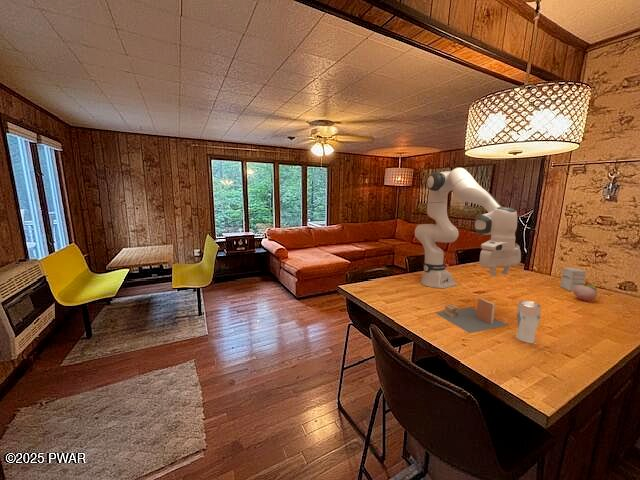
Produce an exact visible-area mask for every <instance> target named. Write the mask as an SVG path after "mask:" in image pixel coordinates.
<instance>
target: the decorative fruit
mask: <svg viewBox="0 0 640 480" xmlns="http://www.w3.org/2000/svg"><path fill="white" fill-rule="evenodd" d="M575 285H576V286H575V287H574V289H573V291H572V292H573V294H574V295H575V296H576V297H577V298H578V299H579V300H581V301H583V302H586V301H587V302H588V301H592V300H594V299H596V297H597V296H598V288H597V287H596V286H594V285H591V284H588V283H587V282H586V283H584V284H575Z"/></svg>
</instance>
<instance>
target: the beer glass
mask: <svg viewBox="0 0 640 480" xmlns="http://www.w3.org/2000/svg"><path fill="white" fill-rule="evenodd" d="M517 305H518V306H517V310H516V322H517V330H516V331H517V332H516V334H515V338H516V339H517V340H518V341H521V342H523V343H527V344H530V345H534V344H536V337H535V335H536V331H537V328H538V326H539V324H540V319H541V310H542V307H541V305H540V304H539V303H537V302H534V301H528V300H519V301H518V304H517Z"/></svg>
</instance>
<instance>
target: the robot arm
mask: <svg viewBox="0 0 640 480" xmlns="http://www.w3.org/2000/svg"><path fill="white" fill-rule="evenodd" d="M426 186H427V188H428V189H429V191H428V195H427V208H426V213H427V214H426V215H427V216H428V217H429V218H431V219H433V220H434V221H435V223H436V224H433V223H421V224H418V225H417V226H416V227H415V228H414V237H415V238H416V239H417V240H418V241H419V242H420V243H421V244H422V246H423V250H424V262H423V272H422V277H421V281H420V284H421V285H423V286H427V287H429V288H437V289H443V290H444V289H446V288H450V287H455V286H458V283H457V282H456V280H455V281H454V275H453V274H452V273H451V272H450V271H448V270H447V269H446V268H449V264H448V263H444V259H445V258H444V257H445V252H444V250H443V249H442V248H440V247H439V246H437V244H436V242H437V243H445V244H446V243H447V244H449V243H455V242H456V241H457V239H458V237H459V235H460V234H459V232H460V231H459V230H458V228H457V227H456V226H455V225H454V224H453V223H452V222H451V220H450V219H449V216H448V194H449V193H450V192H451V191H452V192H453V194H454V195H455V197H456V198H457V199H458V200H460V201H462V202H464V203H465V202H466V203H469V204H470V203H471V204H474V205H478V206H481V207H483V209H485V211H486V213H483V214H480V215H477V216H476V218H475V219H474V221H473V228H474V230H475V231H476V233H477V234H480V235H485V236H486V235H489V236H490V235H491V236H490V239H488V240H486V241H485V242H482V243H481V244H480V249H482V250H481V251H480V254H479V265H480V266H481V267H484V268H488V269H489V271H490V274H489V275H490V276H491V277H496V276H497V274H498V272H497V271H496V270H495V269H496V267H502V266H503V269H502V270H501V274H502V275H503V276H504V275H505V276H506V275H508V274H509V271H510V269H511V267H512V265H519V264H520V263H521V262H522V261H521V260H522V253H521V252H522V251H521V249H520V245H519V244H518V243H516V240H517V239H516V232H517V228H518V212H517V210H516V209H514V208H512V207H507V206H502V205H501V204H500V203H499V202H498V200H497V199H496V198H495V197H494V196H493V195H492V194H491V193H490V192H488V190H485V189H484V188H483V187H482V186H481V185H480V183H478V182H477V181H476V179H475V178H474V177H473V176H472V174H471V173H470V172H468V170H467V169H465V168H463V167H455V168H453V169H452V170H447V171H441V172H439V171H436V172H432V173H430V174H429V175H428V177H427V179H426Z"/></svg>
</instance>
